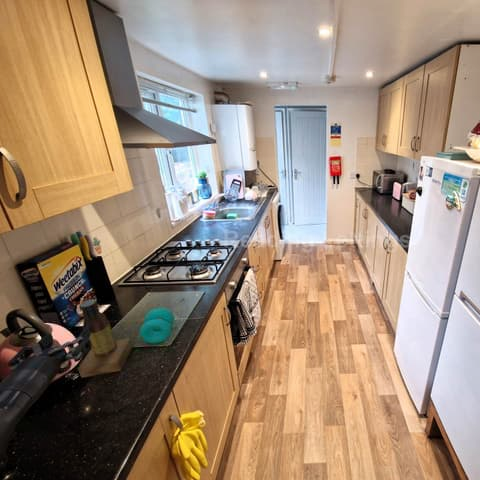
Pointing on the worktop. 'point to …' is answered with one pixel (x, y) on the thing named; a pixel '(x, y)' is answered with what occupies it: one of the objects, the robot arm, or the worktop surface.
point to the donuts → (157, 325)
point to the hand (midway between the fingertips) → (69, 333)
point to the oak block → (106, 360)
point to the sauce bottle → (98, 329)
